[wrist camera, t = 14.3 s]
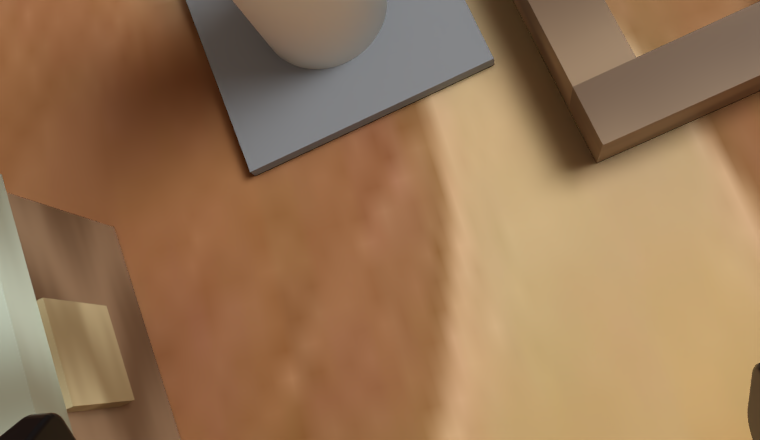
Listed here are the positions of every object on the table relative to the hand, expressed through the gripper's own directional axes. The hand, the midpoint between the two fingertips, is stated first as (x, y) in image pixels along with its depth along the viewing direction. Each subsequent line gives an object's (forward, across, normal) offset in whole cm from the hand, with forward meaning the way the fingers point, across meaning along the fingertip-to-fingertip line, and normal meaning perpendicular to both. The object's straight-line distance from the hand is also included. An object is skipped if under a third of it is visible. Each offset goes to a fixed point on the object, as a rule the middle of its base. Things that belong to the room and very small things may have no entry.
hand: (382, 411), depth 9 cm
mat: (+19, +4, 0) cm, 19 cm away
